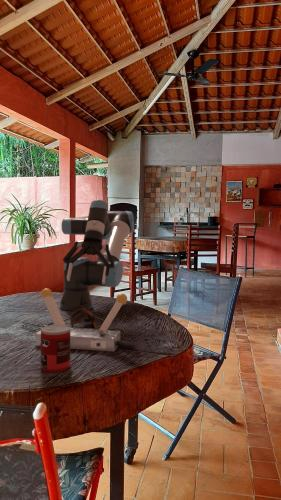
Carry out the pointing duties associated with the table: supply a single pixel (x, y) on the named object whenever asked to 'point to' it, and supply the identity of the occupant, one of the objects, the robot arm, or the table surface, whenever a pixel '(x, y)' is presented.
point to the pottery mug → (84, 314)
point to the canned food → (55, 348)
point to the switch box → (93, 340)
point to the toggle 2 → (113, 312)
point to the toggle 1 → (52, 306)
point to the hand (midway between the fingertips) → (85, 281)
